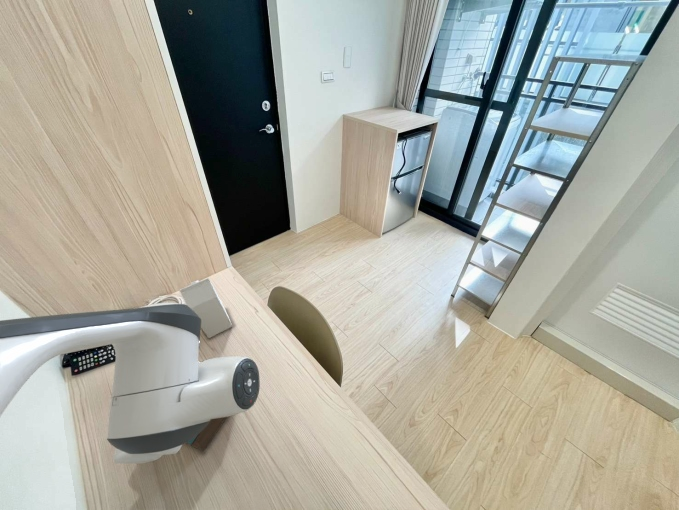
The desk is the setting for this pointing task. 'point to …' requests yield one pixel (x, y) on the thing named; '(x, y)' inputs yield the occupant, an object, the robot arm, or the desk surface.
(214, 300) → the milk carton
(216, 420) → the tray box
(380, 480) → the desk surface
